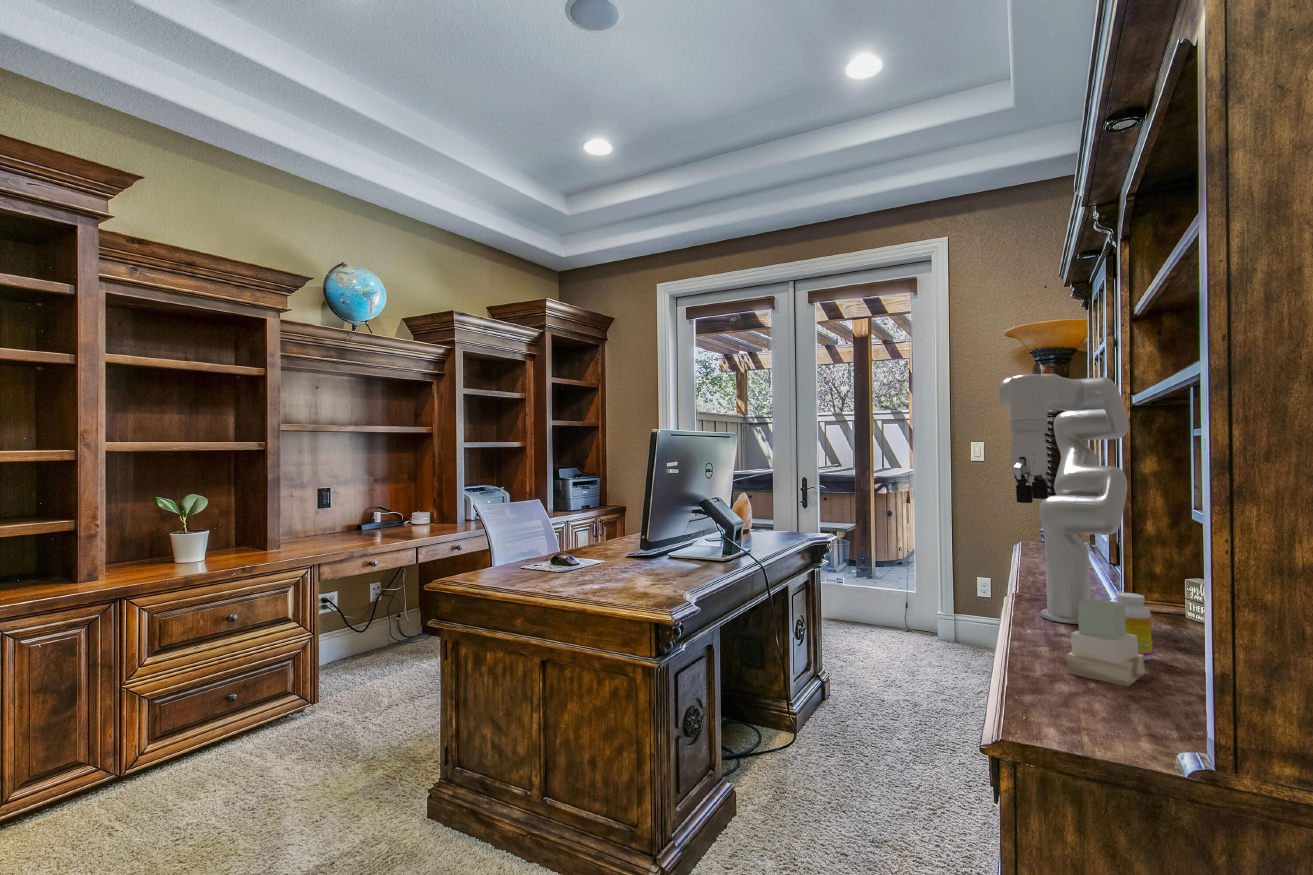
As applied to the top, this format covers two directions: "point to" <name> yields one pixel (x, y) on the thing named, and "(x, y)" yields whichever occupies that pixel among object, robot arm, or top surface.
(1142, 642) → the supplement bottle
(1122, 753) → the top surface
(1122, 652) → the tower top block
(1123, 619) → the stack block
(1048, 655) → the top surface
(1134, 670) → the tower base block
